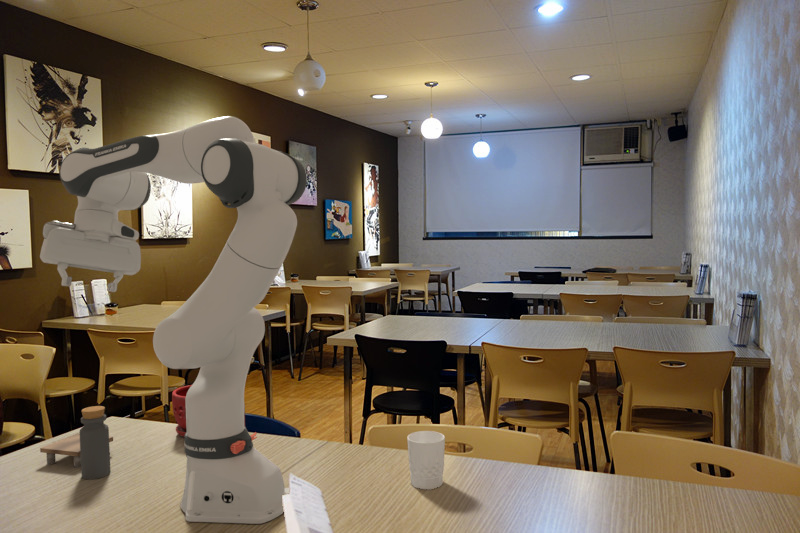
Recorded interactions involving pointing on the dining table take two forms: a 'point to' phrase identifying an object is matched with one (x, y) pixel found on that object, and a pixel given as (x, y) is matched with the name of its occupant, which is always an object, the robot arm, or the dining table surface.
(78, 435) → the small wooden stand
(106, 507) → the dining table surface
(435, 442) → the white cup
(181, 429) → the plant pot
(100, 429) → the bottle
